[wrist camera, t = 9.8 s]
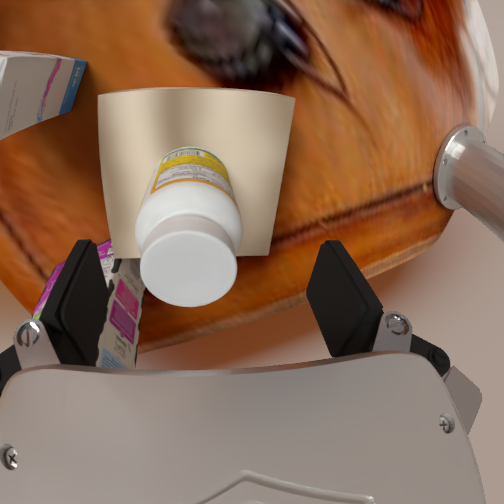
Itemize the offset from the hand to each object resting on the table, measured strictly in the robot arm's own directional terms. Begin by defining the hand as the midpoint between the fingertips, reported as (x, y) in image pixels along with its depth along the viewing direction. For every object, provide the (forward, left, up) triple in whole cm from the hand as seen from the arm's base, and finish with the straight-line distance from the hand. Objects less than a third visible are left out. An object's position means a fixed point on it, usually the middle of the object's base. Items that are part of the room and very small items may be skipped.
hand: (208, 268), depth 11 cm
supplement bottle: (+1, 0, -10) cm, 10 cm away
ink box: (+15, -9, -15) cm, 23 cm away
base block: (+1, 0, -15) cm, 14 cm away
